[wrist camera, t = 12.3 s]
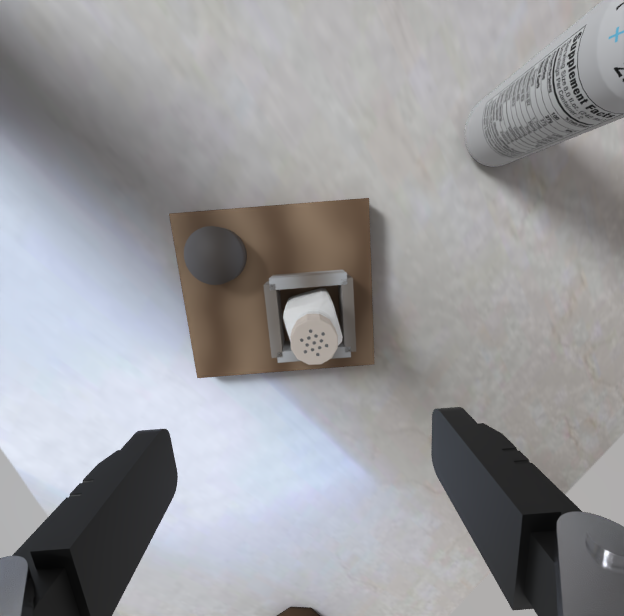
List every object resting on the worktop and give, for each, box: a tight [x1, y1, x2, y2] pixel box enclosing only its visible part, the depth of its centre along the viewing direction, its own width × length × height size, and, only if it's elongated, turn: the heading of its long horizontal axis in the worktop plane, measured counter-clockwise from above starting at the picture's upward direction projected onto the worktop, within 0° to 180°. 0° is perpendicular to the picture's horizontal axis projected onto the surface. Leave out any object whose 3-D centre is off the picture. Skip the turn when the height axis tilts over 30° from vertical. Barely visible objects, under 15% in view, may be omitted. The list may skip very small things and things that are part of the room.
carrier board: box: [169, 198, 374, 378], centre depth 28 cm, size 18×16×5 cm
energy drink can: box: [465, 0, 624, 167], centre depth 20 cm, size 6×6×15 cm
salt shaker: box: [283, 288, 343, 365], centre depth 24 cm, size 4×4×10 cm
